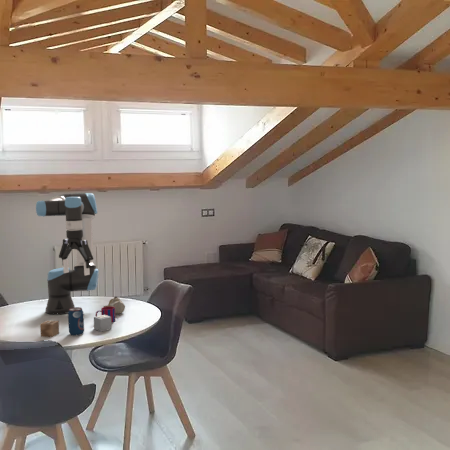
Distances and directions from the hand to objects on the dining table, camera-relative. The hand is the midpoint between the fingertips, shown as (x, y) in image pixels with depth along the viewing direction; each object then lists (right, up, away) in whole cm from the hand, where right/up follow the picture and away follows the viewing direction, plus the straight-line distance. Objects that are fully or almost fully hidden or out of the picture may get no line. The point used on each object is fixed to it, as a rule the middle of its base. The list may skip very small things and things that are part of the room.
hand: (76, 273), depth 270 cm
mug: (+11, -25, +14) cm, 31 cm away
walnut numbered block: (-11, -28, -6) cm, 31 cm away
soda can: (+2, -28, -6) cm, 28 cm away
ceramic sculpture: (+12, -24, +34) cm, 43 cm away
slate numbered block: (+12, -27, +2) cm, 29 cm away
